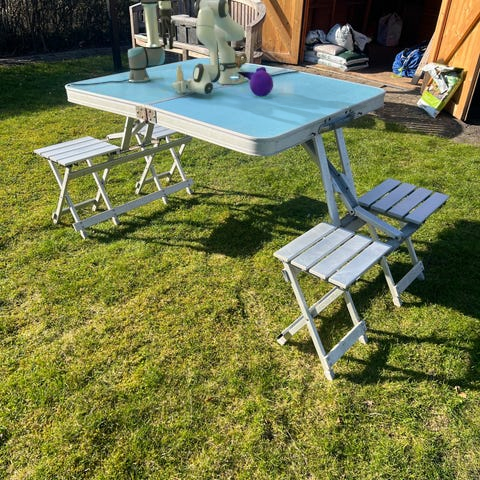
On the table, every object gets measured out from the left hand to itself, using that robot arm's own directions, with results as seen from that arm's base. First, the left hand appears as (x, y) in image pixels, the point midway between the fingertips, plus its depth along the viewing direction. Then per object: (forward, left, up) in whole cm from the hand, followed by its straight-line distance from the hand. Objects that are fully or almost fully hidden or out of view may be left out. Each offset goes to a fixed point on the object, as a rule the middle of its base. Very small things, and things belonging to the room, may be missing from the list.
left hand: (168, 49), depth 291 cm
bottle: (+5, -5, -27) cm, 28 cm away
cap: (0, 0, +2) cm, 2 cm away
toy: (+51, -28, -27) cm, 64 cm away
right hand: (+5, -4, -20) cm, 21 cm away
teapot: (+63, +61, -27) cm, 92 cm away
